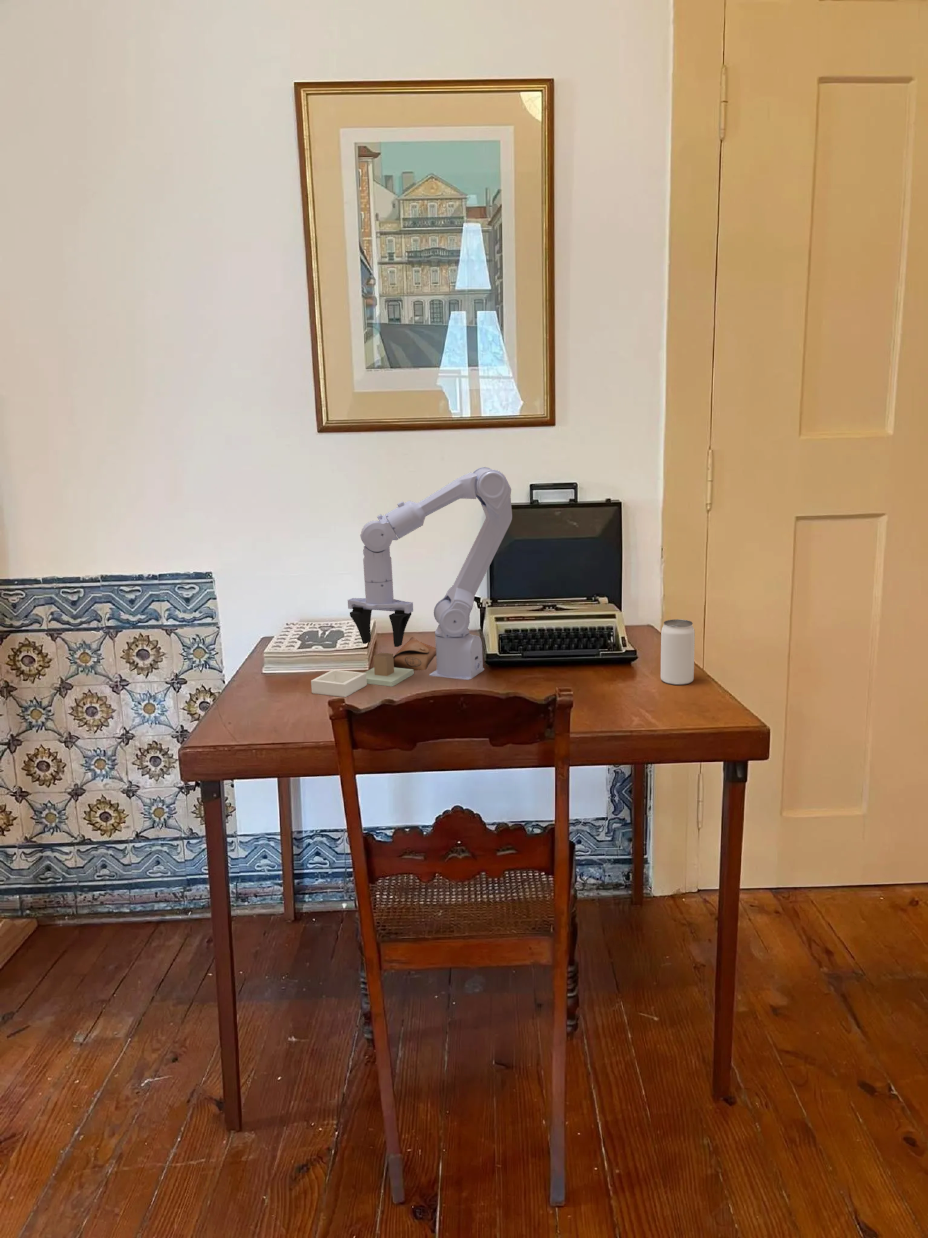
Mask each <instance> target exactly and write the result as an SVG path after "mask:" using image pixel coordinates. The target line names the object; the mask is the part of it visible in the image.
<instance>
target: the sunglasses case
mask: <svg viewBox="0 0 928 1238" xmlns="http://www.w3.org/2000/svg"><path fill="white" fill-rule="evenodd" d="M434 658H436V646H432V645H430V644H428V643H424V642H422V641H420V640H418V639H416V638H415V637H414V636H412V637H410V638H409V640H407V642H406V643H405V644H403V645H402V646H401V648H400V649H398V651H397V652H396V653H395V654H394V655H393V659H394V667H395V668H405V669H414V671H417V672H418V671H424V670H427V668H428V667H429V664H431V662H432V660H434Z"/></svg>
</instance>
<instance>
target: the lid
mask: <svg viewBox="0 0 928 1238" xmlns="http://www.w3.org/2000/svg"><path fill="white" fill-rule="evenodd" d="M393 657H394V653H387V652H379V653H377V654H376V655H374V656H373V667H372V668H370V669H368V670H366V671H364V672H363V673H366V679H367V685H374V684H376V685H375V686H382V685H384V686H385V687H391V686H393V687H395V686H396V685H398V684H399V682H400V683H402V682H404V681H405V680H407V679H409V678H410V677H411V675H412V676H413V675H414V674H415V673H414V669H405V668H395V667H394V659H393ZM409 676H410V677H409ZM404 679H405V680H404ZM394 685H395V686H394Z"/></svg>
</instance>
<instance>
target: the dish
mask: <svg viewBox="0 0 928 1238" xmlns="http://www.w3.org/2000/svg"><path fill="white" fill-rule="evenodd" d="M310 686H311V694H314V695H315V694H317V695H322V696H331V697H339V698H347V697H349V696H351V695H353V694H354V693H356V692H358V691H359V690H361V689H363V688H365V687H367V686H368V684H367V679H366V673H364V672H359V671H351V670H341V669H331V670H329V671H327V672H326V673H323V674H321V675H320V676H317V677H315V678H314V679H311V680H310Z"/></svg>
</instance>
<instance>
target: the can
mask: <svg viewBox="0 0 928 1238" xmlns="http://www.w3.org/2000/svg"><path fill="white" fill-rule="evenodd" d="M693 624H694V622H693V621H691V620H688V619H678V618H677V619H668V620H664V621H663V626H662V628H661V631H660V632H661V634H660V680H661V681H662V682H663V683H665V684H667V685H674V686H684V685H685V686H686V685H689V684H691V683H692V682H693V681H694V679H695V677H694V675H695V636H696V635H695V633H696V632H695V628H694V626H693Z"/></svg>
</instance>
